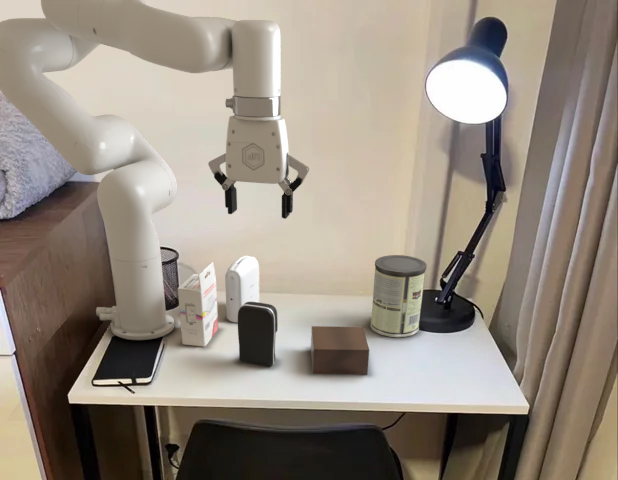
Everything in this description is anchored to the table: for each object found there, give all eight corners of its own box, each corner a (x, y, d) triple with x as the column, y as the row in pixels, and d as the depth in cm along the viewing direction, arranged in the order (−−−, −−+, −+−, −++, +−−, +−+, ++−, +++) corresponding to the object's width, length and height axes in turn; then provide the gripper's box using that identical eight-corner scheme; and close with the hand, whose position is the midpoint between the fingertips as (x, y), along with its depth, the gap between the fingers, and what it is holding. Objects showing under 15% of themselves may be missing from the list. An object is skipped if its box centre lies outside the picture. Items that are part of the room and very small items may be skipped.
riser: (312, 373, 121) (313, 349, 118) (310, 349, 129) (311, 326, 127) (367, 374, 121) (369, 349, 119) (361, 350, 130) (363, 326, 127)
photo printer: (242, 324, 139) (241, 267, 132) (223, 321, 140) (221, 264, 134) (262, 307, 147) (261, 252, 141) (244, 304, 148) (243, 250, 142)
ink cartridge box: (195, 327, 137) (191, 258, 129) (218, 329, 136) (216, 260, 129) (180, 344, 130) (175, 272, 122) (204, 347, 129) (201, 275, 121)
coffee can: (377, 314, 145) (383, 251, 138) (423, 322, 142) (432, 259, 135) (363, 332, 137) (368, 266, 130) (411, 341, 134) (419, 274, 127)
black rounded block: (279, 359, 126) (280, 302, 120) (273, 367, 122) (273, 310, 117) (244, 353, 127) (243, 297, 121) (237, 362, 124) (236, 305, 118)
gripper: (198, 108, 105) (204, 216, 114) (304, 113, 102) (302, 224, 111) (214, 102, 112) (218, 205, 120) (314, 108, 109) (311, 212, 117)
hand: (259, 214), depth 116 cm, fingers open, 9 cm apart
